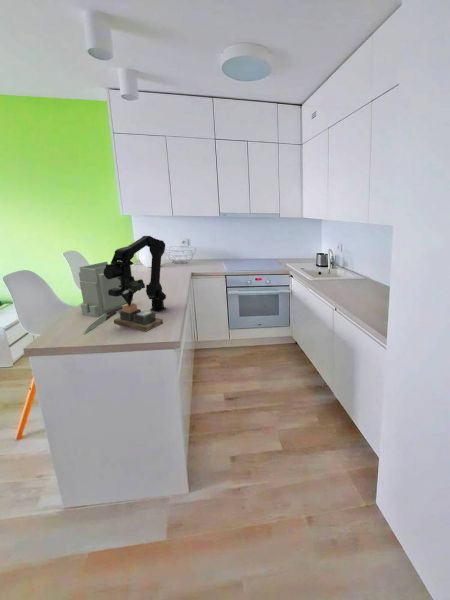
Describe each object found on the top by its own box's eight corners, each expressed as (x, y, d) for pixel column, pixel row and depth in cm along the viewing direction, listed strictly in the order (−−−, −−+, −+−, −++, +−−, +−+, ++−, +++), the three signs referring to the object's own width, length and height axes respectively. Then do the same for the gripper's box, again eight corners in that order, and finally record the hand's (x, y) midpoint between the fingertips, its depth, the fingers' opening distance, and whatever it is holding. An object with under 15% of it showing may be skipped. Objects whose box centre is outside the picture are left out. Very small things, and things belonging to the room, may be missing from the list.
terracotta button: (130, 310, 150) (129, 303, 148) (137, 311, 147) (136, 304, 146) (123, 313, 146) (122, 305, 144) (129, 314, 143) (128, 307, 142)
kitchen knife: (114, 307, 160) (80, 327, 132) (115, 307, 160) (82, 327, 132) (115, 315, 161) (81, 336, 133) (116, 315, 161) (83, 336, 133)
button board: (132, 316, 156) (131, 305, 154) (162, 323, 145) (161, 312, 143) (114, 323, 146) (112, 312, 144) (145, 331, 135) (144, 319, 133)
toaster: (78, 313, 162) (70, 268, 154) (114, 300, 185) (109, 260, 177) (100, 317, 155) (92, 270, 147) (135, 303, 177) (129, 261, 169)
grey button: (145, 318, 146) (144, 310, 144) (152, 319, 143) (151, 312, 142) (137, 321, 141) (136, 313, 140) (144, 323, 139) (144, 315, 138)
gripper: (121, 280, 129) (125, 313, 134) (151, 272, 144) (154, 302, 149) (105, 278, 134) (110, 309, 139) (135, 270, 150) (139, 299, 154)
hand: (129, 304), depth 145 cm, fingers closed
